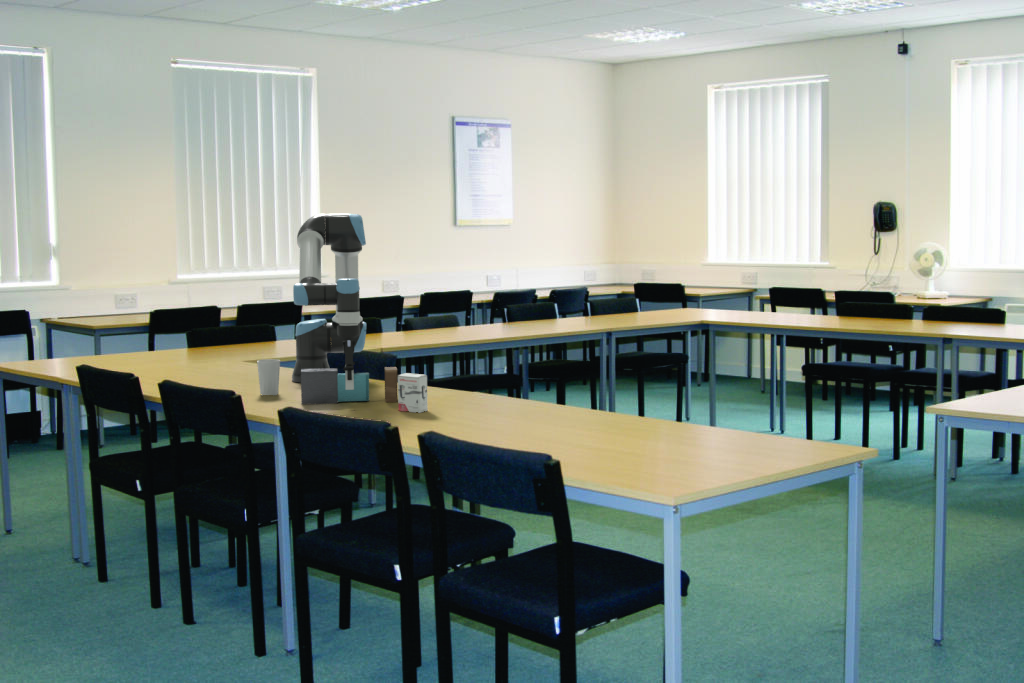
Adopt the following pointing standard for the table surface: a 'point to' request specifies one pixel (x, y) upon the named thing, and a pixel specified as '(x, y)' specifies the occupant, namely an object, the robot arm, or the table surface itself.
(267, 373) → the cup
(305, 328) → the robot arm
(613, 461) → the table surface
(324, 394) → the dark gray box
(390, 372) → the socket
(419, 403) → the ink box
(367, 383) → the teal rectangular box
